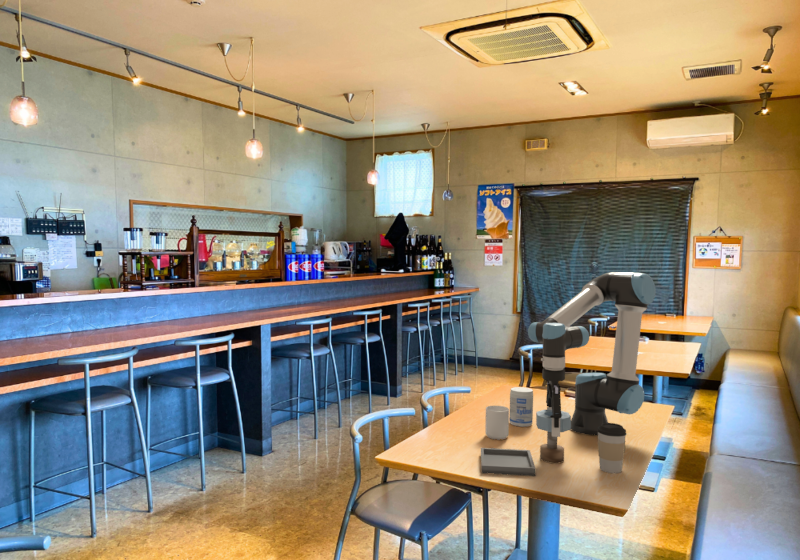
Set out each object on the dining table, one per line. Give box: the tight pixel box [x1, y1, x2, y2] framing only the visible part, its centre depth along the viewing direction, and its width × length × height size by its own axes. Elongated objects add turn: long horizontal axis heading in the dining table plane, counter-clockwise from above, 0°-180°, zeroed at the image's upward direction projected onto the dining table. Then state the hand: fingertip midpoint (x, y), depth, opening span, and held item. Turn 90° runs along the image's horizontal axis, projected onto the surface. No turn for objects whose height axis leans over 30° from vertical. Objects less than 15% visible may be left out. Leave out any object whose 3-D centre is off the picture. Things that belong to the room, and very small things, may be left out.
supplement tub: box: [509, 386, 534, 428], centre depth 235 cm, size 10×10×15 cm
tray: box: [480, 447, 536, 477], centre depth 188 cm, size 17×17×2 cm
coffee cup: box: [597, 422, 627, 474], centre depth 185 cm, size 9×9×15 cm
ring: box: [535, 409, 572, 433], centre depth 194 cm, size 11×11×4 cm
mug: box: [485, 405, 510, 441], centre depth 219 cm, size 12×9×11 cm
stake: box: [539, 431, 565, 464], centre depth 194 cm, size 8×8×11 cm
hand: (553, 430), depth 194 cm, fingers closed on ring, 11 cm apart
